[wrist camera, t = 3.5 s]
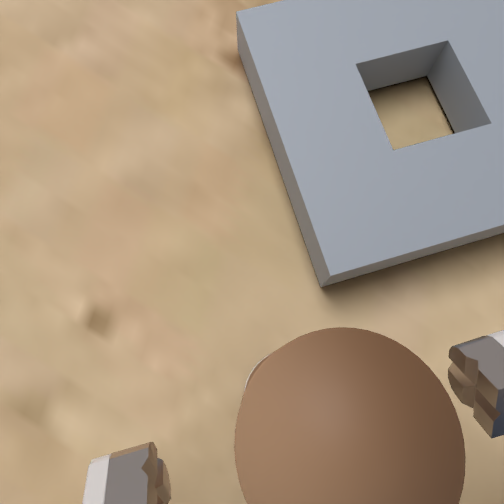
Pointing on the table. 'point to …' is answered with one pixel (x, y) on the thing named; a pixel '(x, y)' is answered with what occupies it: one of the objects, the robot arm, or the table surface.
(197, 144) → the table surface
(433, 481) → the peg
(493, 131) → the socket board
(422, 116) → the table surface
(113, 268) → the table surface
